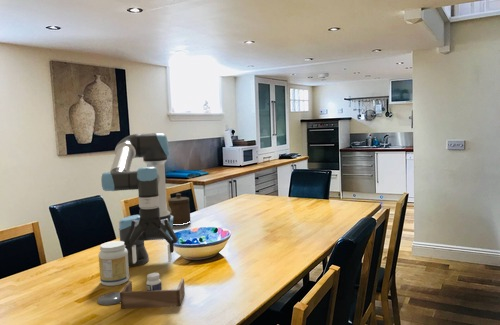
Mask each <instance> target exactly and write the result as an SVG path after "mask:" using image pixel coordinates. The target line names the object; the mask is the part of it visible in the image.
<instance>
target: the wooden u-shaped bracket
mask: <svg viewBox="0 0 500 325" xmlns="http://www.w3.org/2000/svg"><path fill="white" fill-rule="evenodd" d="M132 282H133V281H132V280H128V281H127V282H126V284H125V286H124V287H123V288H122V290H121V291H119V292H120V302H121V303H120V309H124V310H125V309H141V308H142V309H145V308H164V307H165V308H167V307H168V308H169V307H181V304H182V301H183V298H184V296H185V291H186V290H185V278H181V279H180V281H179V284H178V286H177V289H162V290H154V291H147V290H140V291H138V290H134V291H133V283H132Z"/></svg>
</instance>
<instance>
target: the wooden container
mask: <svg viewBox="0 0 500 325" xmlns="http://www.w3.org/2000/svg"><path fill="white" fill-rule="evenodd" d="M167 200H168V211H169V212H170V216H171V215H172V216H173V224H183V223H187V222H189V221H190V222H191V209H190V197H187V196H182V193H179V192H177V193H176V194H175V197H170V198H168V199H167Z"/></svg>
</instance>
